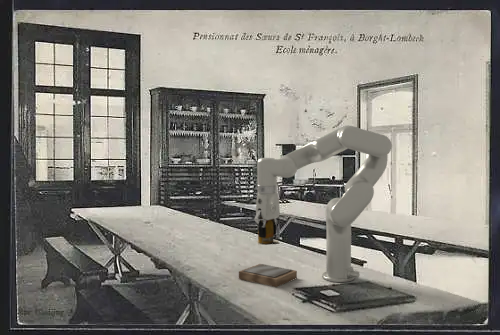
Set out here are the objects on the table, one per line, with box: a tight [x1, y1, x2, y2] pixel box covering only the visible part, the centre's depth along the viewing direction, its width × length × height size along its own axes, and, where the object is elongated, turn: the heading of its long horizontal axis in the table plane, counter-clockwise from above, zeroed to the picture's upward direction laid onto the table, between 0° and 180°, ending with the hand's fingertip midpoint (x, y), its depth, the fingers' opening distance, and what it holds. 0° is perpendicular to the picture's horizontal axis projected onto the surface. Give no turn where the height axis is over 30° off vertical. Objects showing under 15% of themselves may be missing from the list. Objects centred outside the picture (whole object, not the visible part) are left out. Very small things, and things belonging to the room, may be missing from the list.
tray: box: [238, 263, 298, 288], centre depth 220 cm, size 18×14×3 cm
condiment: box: [256, 218, 281, 246], centre depth 218 cm, size 7×8×12 cm
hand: (267, 235), depth 218 cm, fingers closed on condiment, 6 cm apart
